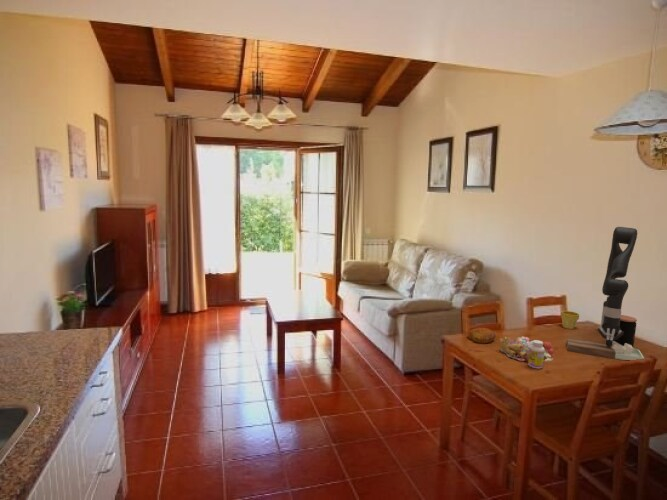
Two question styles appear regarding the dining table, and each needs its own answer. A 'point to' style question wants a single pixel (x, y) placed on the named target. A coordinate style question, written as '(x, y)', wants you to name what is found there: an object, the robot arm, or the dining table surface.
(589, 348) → the board
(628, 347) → the tile
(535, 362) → the supplement bottle
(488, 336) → the round bread loaf
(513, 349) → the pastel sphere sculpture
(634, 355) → the tray
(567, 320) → the plant pot
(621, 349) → the tile
